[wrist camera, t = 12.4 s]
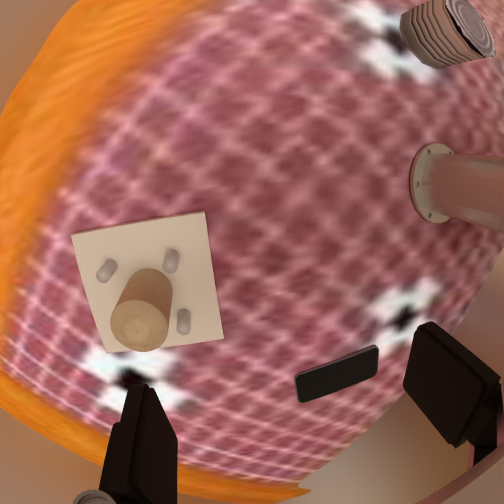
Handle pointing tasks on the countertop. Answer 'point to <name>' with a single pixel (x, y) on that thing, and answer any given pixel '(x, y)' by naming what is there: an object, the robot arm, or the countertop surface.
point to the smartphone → (337, 374)
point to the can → (446, 33)
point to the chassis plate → (161, 259)
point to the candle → (143, 311)
